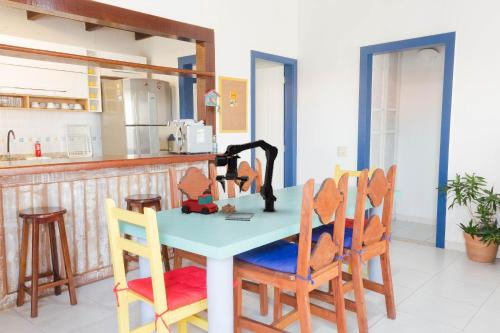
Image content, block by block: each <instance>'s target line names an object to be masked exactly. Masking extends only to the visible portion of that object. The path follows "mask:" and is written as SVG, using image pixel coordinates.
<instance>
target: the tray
mask: <svg viewBox="0 0 500 333" xmlns="http://www.w3.org/2000/svg"><path fill="white" fill-rule="evenodd" d="M232 214H233V215H234V214H235V215H250V216H249V217H237V216H234V217H233V216H231V215H232ZM254 215H255V213H254V212H253V213H252V212H238V211H237V212H231V213H228V214H227V215H226V216H225V221H237V222H239V221H240V222H250V221H251V219H252V218H253V217H254Z"/></svg>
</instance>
